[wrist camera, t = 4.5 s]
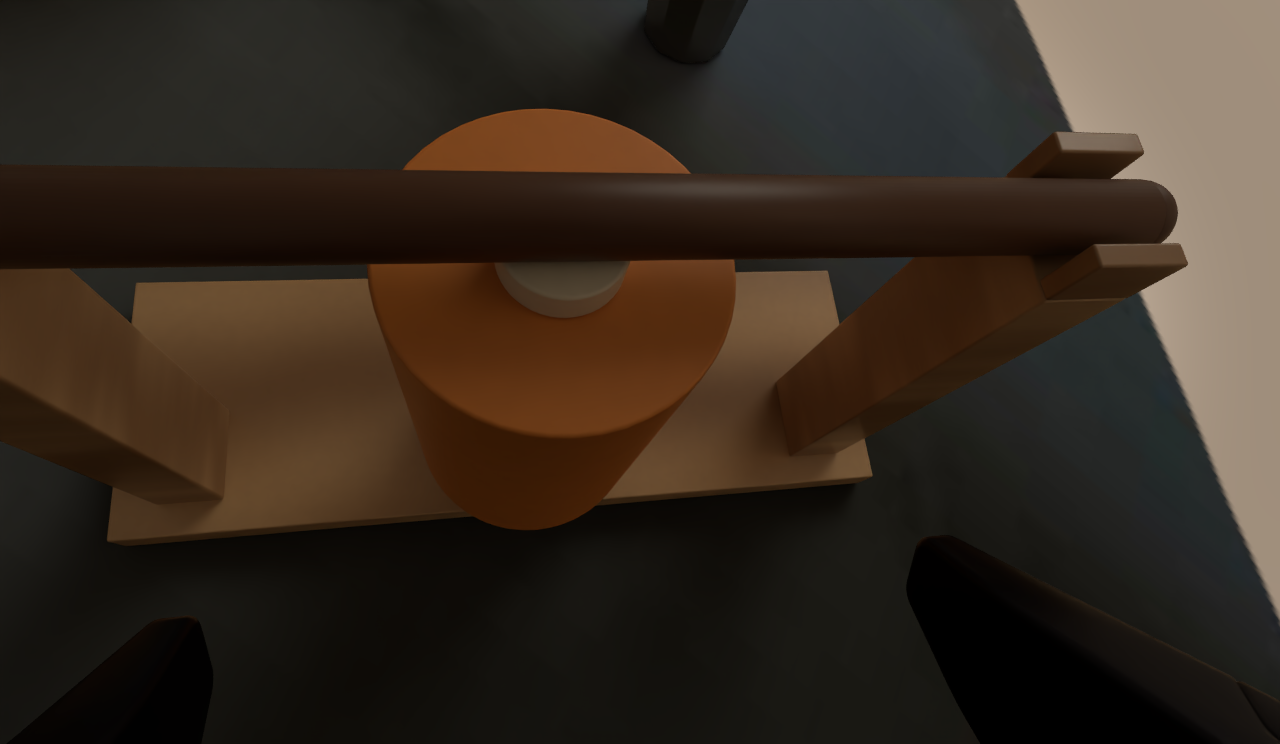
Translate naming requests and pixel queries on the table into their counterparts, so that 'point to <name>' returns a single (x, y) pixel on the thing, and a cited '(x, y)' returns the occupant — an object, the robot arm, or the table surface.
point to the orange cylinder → (546, 271)
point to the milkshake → (691, 27)
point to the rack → (383, 428)
